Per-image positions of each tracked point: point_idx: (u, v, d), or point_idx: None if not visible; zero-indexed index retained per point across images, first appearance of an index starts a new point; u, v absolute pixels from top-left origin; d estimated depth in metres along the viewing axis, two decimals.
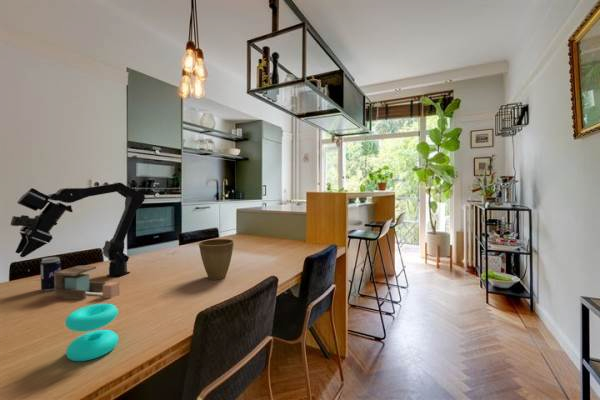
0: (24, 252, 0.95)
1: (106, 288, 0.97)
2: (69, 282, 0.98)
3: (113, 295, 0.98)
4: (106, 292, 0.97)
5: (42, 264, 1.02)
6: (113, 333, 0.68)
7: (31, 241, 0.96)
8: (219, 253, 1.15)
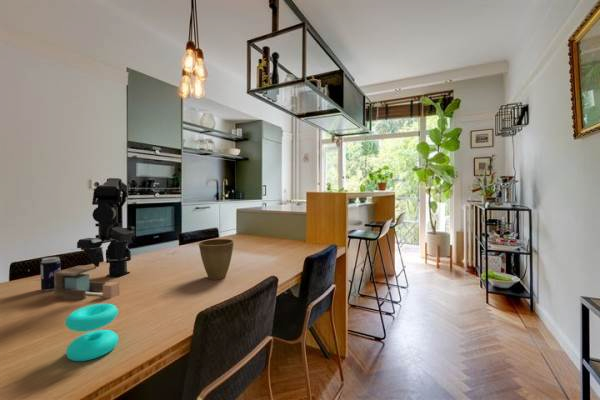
0: None
1: (106, 288, 0.97)
2: (69, 282, 0.98)
3: (113, 295, 0.98)
4: (106, 292, 0.97)
5: (42, 264, 1.02)
6: (113, 333, 0.68)
7: None
8: (219, 253, 1.15)
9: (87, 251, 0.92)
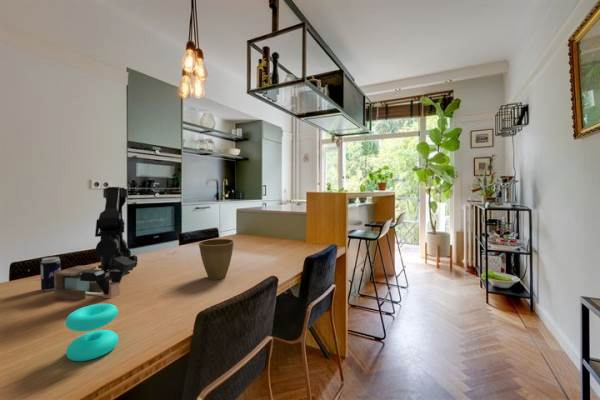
0: None
1: None
2: (69, 282, 0.98)
3: (113, 295, 0.98)
4: None
5: (42, 264, 1.02)
6: (113, 333, 0.68)
7: None
8: (219, 253, 1.15)
9: (97, 280, 0.95)
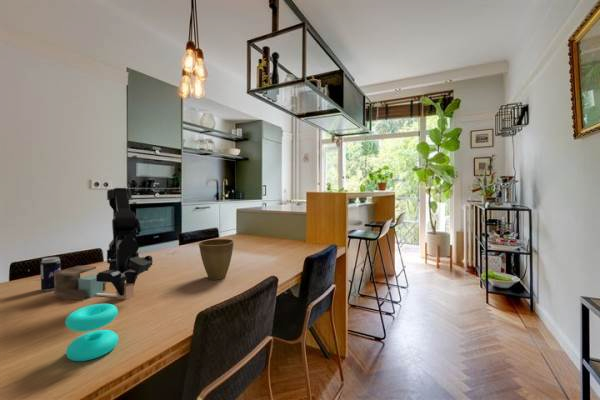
0: None
1: None
2: (83, 283, 0.97)
3: (128, 296, 0.97)
4: None
5: (42, 264, 1.02)
6: (113, 333, 0.68)
7: None
8: (219, 253, 1.15)
9: None
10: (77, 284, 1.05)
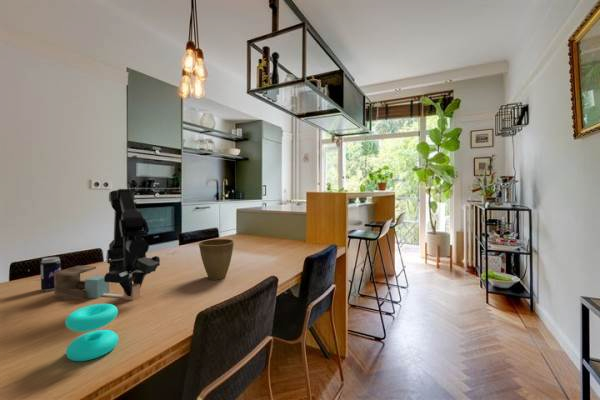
0: None
1: None
2: (89, 283, 0.97)
3: (134, 297, 0.96)
4: None
5: (42, 264, 1.02)
6: (113, 333, 0.68)
7: None
8: (219, 253, 1.15)
9: None
10: (77, 284, 1.05)
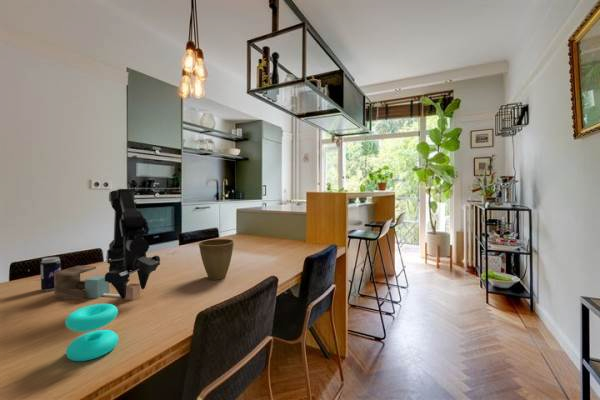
0: None
1: (128, 290, 0.96)
2: (89, 283, 0.97)
3: (135, 297, 0.96)
4: (128, 294, 0.96)
5: (42, 264, 1.02)
6: (113, 333, 0.68)
7: None
8: (219, 253, 1.15)
9: (114, 283, 0.91)
10: (77, 284, 1.05)
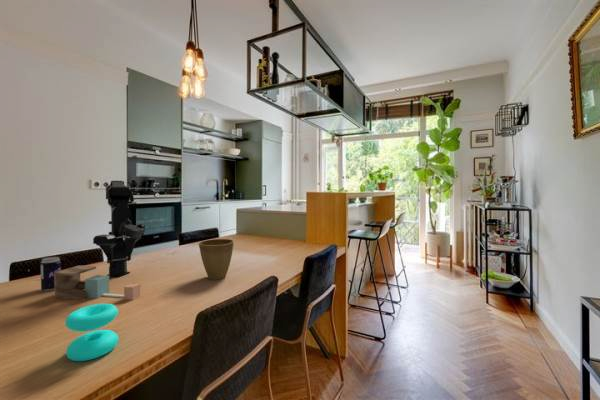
0: None
1: (128, 290, 0.96)
2: (89, 283, 0.97)
3: (135, 297, 0.96)
4: (128, 294, 0.96)
5: (42, 264, 1.02)
6: (113, 333, 0.68)
7: None
8: (219, 253, 1.15)
9: (102, 246, 1.00)
10: (77, 284, 1.05)
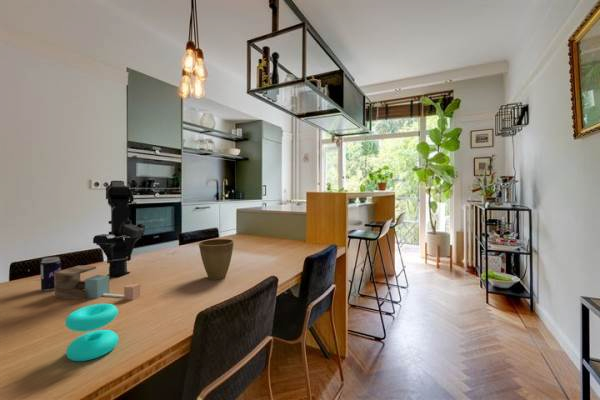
0: None
1: (128, 290, 0.96)
2: (89, 283, 0.97)
3: (135, 297, 0.96)
4: (128, 294, 0.96)
5: (42, 264, 1.02)
6: (113, 333, 0.68)
7: None
8: (219, 253, 1.15)
9: (102, 246, 1.00)
10: (77, 284, 1.05)
